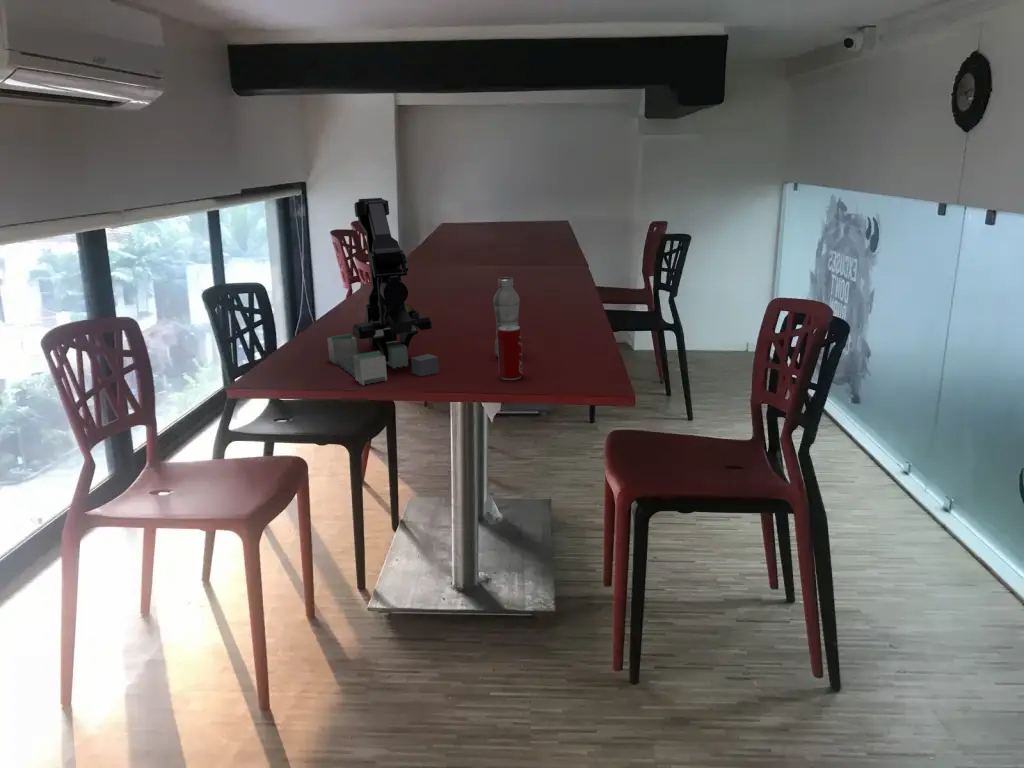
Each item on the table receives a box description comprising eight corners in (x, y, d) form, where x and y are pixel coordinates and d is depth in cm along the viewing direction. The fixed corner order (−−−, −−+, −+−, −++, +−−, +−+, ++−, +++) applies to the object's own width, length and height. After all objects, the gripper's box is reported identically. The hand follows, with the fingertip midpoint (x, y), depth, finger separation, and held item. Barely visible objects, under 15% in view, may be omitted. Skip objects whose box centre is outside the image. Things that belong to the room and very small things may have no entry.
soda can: (523, 380, 177) (522, 328, 174) (499, 381, 177) (497, 329, 173) (521, 373, 183) (520, 323, 179) (498, 374, 182) (496, 324, 179)
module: (398, 359, 198) (396, 339, 197) (408, 365, 192) (406, 345, 191) (383, 362, 196) (381, 341, 195) (393, 368, 190) (391, 347, 189)
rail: (352, 357, 202) (349, 331, 200) (387, 381, 180) (384, 352, 178) (329, 361, 199) (326, 335, 197) (362, 385, 177) (359, 356, 175)
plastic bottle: (491, 356, 198) (487, 277, 193) (515, 352, 201) (512, 275, 195) (500, 361, 193) (497, 281, 187) (525, 358, 195) (523, 278, 189)
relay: (429, 369, 189) (428, 353, 187) (439, 373, 186) (437, 357, 184) (412, 374, 186) (410, 357, 184) (421, 377, 183) (420, 361, 181)
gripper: (364, 308, 178) (370, 373, 183) (438, 298, 187) (442, 361, 191) (349, 301, 188) (355, 363, 192) (421, 291, 196) (425, 351, 201)
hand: (395, 360), depth 194 cm, fingers closed on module, 4 cm apart
